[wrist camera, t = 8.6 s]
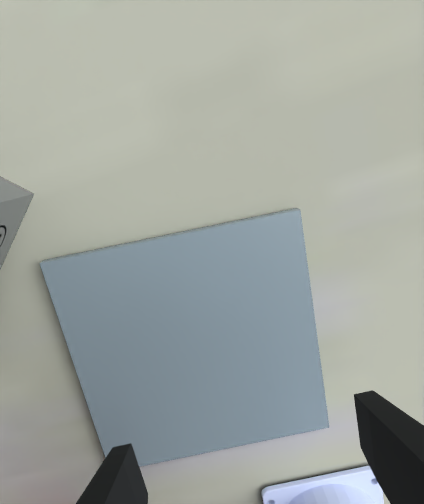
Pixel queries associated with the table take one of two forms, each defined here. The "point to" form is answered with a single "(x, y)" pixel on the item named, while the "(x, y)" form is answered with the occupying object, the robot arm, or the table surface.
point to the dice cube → (11, 213)
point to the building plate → (194, 337)
